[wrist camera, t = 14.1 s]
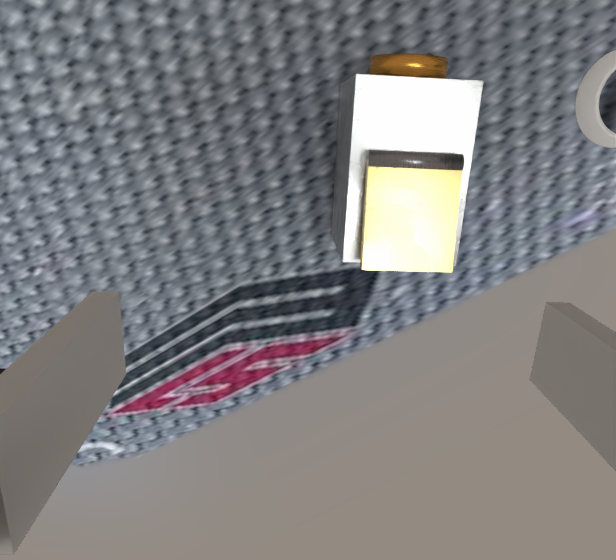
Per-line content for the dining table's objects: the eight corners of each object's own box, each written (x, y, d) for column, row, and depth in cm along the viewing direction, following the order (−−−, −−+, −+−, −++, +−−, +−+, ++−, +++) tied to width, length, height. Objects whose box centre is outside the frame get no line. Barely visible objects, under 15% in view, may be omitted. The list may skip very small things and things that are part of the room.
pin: (434, 65, 35) (459, 56, 30) (415, 228, 39) (434, 244, 34) (364, 61, 35) (378, 51, 30) (352, 226, 39) (362, 242, 34)
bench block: (440, 89, 38) (483, 80, 30) (422, 237, 42) (455, 265, 34) (340, 83, 37) (356, 74, 29) (330, 234, 41) (342, 261, 33)
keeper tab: (458, 154, 31) (465, 153, 30) (446, 269, 33) (453, 272, 31) (366, 150, 31) (369, 149, 30) (359, 267, 32) (362, 270, 31)
